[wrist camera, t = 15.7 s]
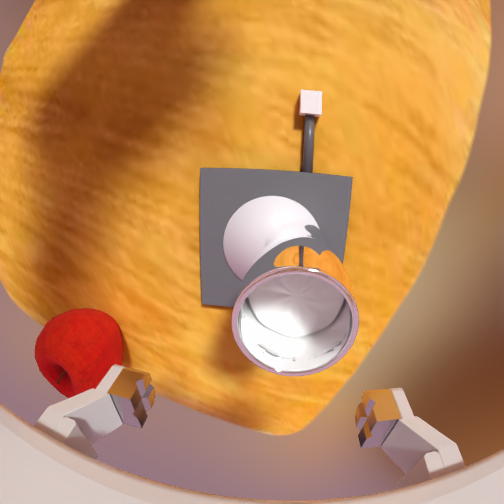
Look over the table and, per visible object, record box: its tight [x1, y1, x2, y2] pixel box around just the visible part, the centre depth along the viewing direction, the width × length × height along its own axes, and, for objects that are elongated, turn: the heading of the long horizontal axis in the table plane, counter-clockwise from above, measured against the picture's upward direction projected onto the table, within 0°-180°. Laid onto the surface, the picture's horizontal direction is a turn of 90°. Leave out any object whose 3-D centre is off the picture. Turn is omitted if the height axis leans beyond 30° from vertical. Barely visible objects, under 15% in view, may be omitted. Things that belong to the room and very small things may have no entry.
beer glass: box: [232, 219, 359, 376], centre depth 21 cm, size 7×7×15 cm
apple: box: [35, 308, 123, 398], centre depth 29 cm, size 12×12×13 cm
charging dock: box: [200, 90, 352, 307], centre depth 27 cm, size 23×15×2 cm, turn 178°
